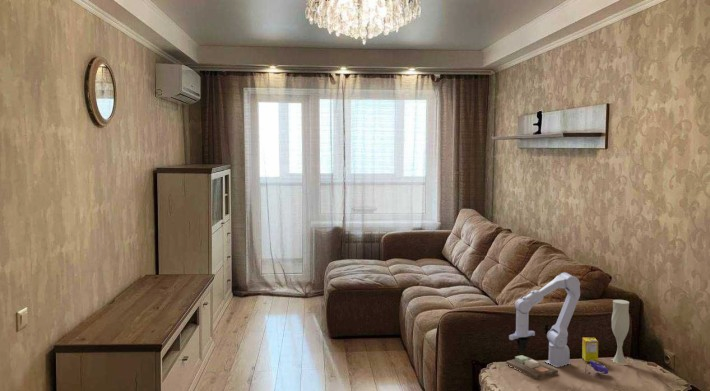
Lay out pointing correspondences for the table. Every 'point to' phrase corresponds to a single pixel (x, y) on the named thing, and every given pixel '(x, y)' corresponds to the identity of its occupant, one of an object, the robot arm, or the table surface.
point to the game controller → (598, 367)
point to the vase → (620, 326)
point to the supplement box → (589, 349)
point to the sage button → (521, 359)
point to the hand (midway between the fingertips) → (521, 352)
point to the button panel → (533, 369)
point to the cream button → (531, 363)
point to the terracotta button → (541, 369)
